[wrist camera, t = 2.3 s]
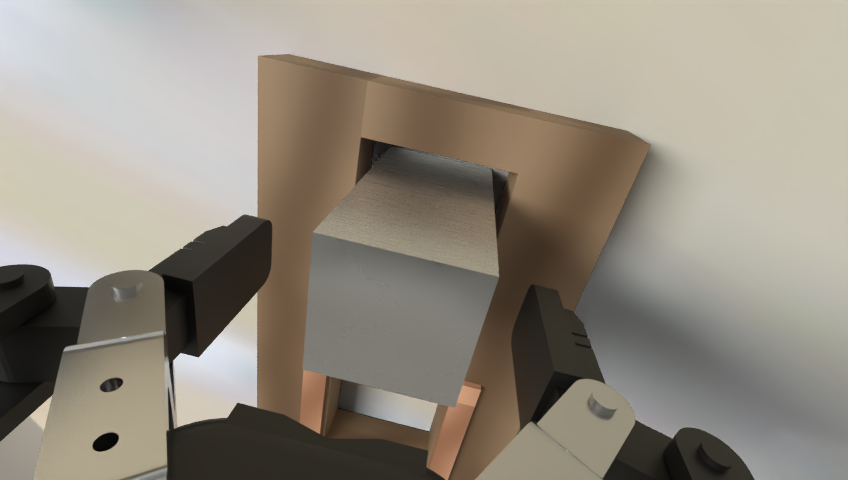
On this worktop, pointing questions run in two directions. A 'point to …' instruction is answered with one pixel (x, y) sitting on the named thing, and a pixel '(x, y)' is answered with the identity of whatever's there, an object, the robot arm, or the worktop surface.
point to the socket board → (515, 222)
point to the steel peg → (404, 277)
